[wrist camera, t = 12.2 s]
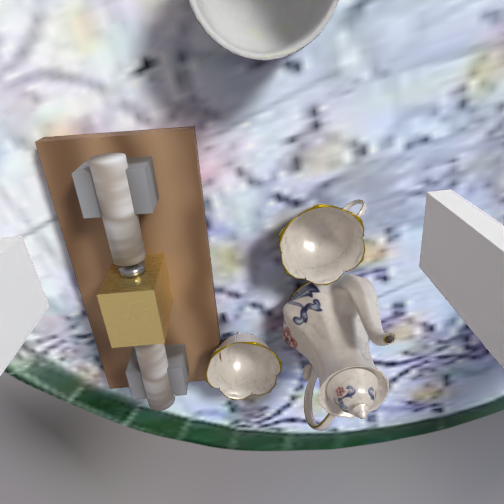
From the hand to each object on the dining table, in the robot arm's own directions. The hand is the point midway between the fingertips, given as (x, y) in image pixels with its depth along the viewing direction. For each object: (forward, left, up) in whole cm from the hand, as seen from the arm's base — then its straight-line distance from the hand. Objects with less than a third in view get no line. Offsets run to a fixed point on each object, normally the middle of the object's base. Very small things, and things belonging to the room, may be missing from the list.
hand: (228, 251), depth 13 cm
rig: (+10, +16, -28) cm, 33 cm away
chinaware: (-7, +21, -28) cm, 36 cm away
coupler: (+10, +16, -26) cm, 32 cm away
